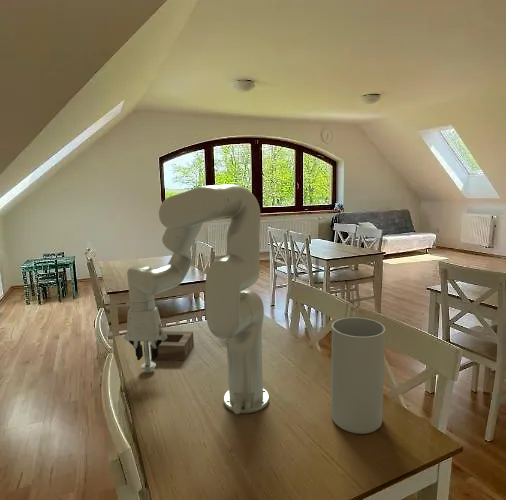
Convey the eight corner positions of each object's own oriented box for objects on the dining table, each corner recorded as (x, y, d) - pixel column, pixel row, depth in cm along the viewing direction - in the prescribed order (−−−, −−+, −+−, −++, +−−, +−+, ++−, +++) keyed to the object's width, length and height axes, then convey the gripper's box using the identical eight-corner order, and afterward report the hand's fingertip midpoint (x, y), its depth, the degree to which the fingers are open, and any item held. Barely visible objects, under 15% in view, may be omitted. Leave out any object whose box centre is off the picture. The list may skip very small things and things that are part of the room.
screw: (145, 376, 123) (138, 371, 126) (159, 371, 126) (152, 366, 130) (141, 338, 120) (135, 334, 124) (155, 334, 123) (149, 330, 127)
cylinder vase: (344, 399, 107) (345, 314, 102) (389, 416, 99) (393, 324, 94) (322, 422, 97) (322, 329, 93) (370, 442, 89) (372, 341, 85)
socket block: (185, 360, 133) (184, 345, 132) (151, 359, 134) (150, 345, 133) (193, 345, 145) (193, 331, 144) (162, 345, 146) (161, 331, 145)
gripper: (111, 308, 119) (117, 363, 123) (164, 308, 117) (169, 364, 121) (122, 300, 126) (127, 352, 130) (172, 300, 125) (176, 353, 128)
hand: (147, 357), depth 125 cm, fingers open, 4 cm apart
